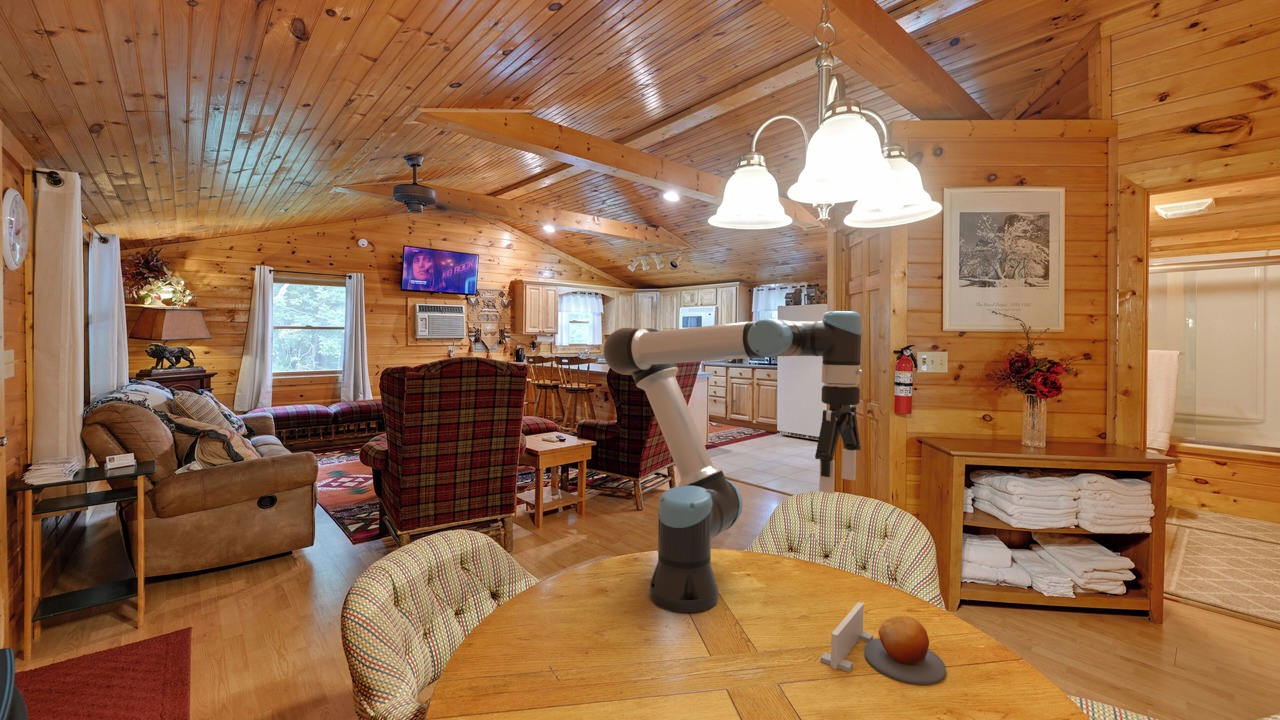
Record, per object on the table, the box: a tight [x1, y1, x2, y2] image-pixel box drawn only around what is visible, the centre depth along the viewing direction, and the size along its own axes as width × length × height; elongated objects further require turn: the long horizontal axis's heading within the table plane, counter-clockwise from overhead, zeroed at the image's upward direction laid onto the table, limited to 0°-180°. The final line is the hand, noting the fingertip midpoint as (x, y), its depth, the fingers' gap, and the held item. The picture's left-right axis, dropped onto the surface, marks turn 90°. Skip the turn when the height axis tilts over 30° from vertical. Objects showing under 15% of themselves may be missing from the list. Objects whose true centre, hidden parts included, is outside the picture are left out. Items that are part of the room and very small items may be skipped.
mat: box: [863, 637, 947, 686], centre depth 96 cm, size 13×13×1 cm
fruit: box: [878, 615, 930, 665], centre depth 96 cm, size 8×8×8 cm
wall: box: [820, 601, 874, 673], centre depth 100 cm, size 5×15×6 cm, turn 141°
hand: (838, 485), depth 114 cm, fingers open, 13 cm apart
